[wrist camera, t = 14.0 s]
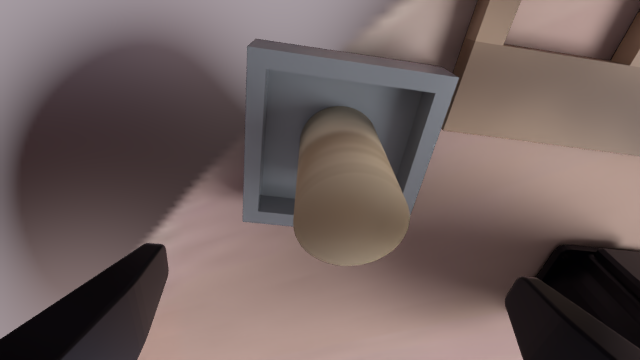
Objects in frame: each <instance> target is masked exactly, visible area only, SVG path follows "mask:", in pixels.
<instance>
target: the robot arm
mask: <svg viewBox="0 0 640 360" xmlns="http://www.w3.org/2000/svg"><path fill="white" fill-rule="evenodd" d="M167 277H168V262H167V254H166V248H165V246H164V245H162V244H154V243H146V244H143V245H142V246H140V247H139V248H137V249H136V250H134V251H133V252H131V253H130V254H128V255H127V256H125V257H124V258H122V259H121V260H119V261H118V262H116V263H115V264H113V265H112V266H110V267H109V268H107V269H106V270H104V271H103V272H101V273H100V274H98V275H97V276H95V277H93V278H92V279H91V280H89V281H88V282H86V283H84V284H83V285H81V286H80V287H78V288H77V289H75V290H74V291H72V292H71V293H69V294H68V295H66V296H65V297H63V298H62V299H60V300H59V301H57V302H56V303H54V304H53V305H51V306H50V307H48V308H47V309H45V310H44V311H42V312H41V313H39V314H38V315H36V316H35V317H33V318H32V319H30V320H29V321H27V322H26V323H24V324H22V325H21V326H19V327H18V328H16V329H15V330H13V331H12V332H10V333H9V334H7V335H6V336H4V337H3V338H1V339H0V360H137V359H138V357H139V355H140V352H141V350H142V348H143V346H144V343H145V341H146V338H147V336H148V333H149V330H150V327H151V324H152V321H153V319H154V316H155V313H156V310H157V307H158V304H159V301H160V298H161V295H162V292H163V289H164V286H165V283H166V280H167ZM505 306H506V309H507V312H508V315H509V318H510V321H511V324H512V327H513V330H514V333H515V336H516V339H517V342H518V346H519V349H520V352H521V355H522V357H523V360H640V252H635V251H625V250H615V249H606V248H594V247H584V246H575V245H562V246H559V247H558V248H556V249H555V251H554V252H553V253H552V255H551V256H550V258H549V259H548V261H547V262H546V264H545V265H544V267H543V268H542V270H541V271H540V273H539V274H538V275H537V277H536V278H534V277H524V276H522V277H519V278H518V279H517V280H516V281H515V283H514V285H513V286H512V288H511V289H510V291H509V292H508V294H507V295H506V298H505Z"/></svg>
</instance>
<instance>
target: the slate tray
mask: <svg viewBox="0 0 640 360" xmlns="http://www.w3.org/2000/svg"><path fill="white" fill-rule="evenodd" d="M458 79H459V77H457V76H456V75H454V74H453V73H451V72H449V71H448V70H446V69H444V68H443V67H441V66H434V65H427V64H421V63H414V62H407V61H401V60H394V59H387V58H381V57H374V56H367V55H361V54H354V53H347V52H341V51H334V50H327V49H320V48H314V47H307V46H301V45H294V44H287V43H281V42H274V41H267V40H261V39H255V40H254V41H253V42H252V43H250V44H249V45H248V46H247V77H246V114H245V151H244V189H243V222H252V223H262V224H272V225H282V226H292V227H293V218H294V206H295V194H296V182H297V170H298V158H299V147H300V137H301V133H302V130H303V128H304V126H305V124H306V123H307V121H308V120H309V119H310V118H311V117H312V116H313V115H315V114H316V113H318V112H319V111H321V110H323V109H326V108H329V107H334V106H345V107H350V108H353V109H356V110H358V111H360V112H361V113H363V114H364V115H365V116H366V117H368V119H369V120H370V121H371V123H372V124H373V126H374V128H375V131H376V133H377V135H378V138H379V140H380V142H381V144H382V147H383V149H384V151H385V154H386V156H387V158H388V161H389V163H390V165H391V167H392V170H393V172H394V174H395V177H396V179H397V181H398V183H399V186H400V188H401V190H402V193H403V195H404V197H405V200H406V202H407V204H408V207H409V212H410V215H411V212H412V209H413V206H414V204H415V201H416V198H417V195H418V192H419V190H420V187H421V184H422V181H423V178H424V175H425V173H426V170H427V167H428V164H429V161H430V158H431V156H432V153H433V150H434V147H435V144H436V141H437V139H438V136H439V133H440V130H441V127H442V125H443V122H444V119H445V116H446V113H447V110H448V108H449V105H450V102H451V99H452V96H453V93H454V91H455V88H456V85H457V82H458Z"/></svg>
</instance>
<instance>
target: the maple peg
mask: <svg viewBox="0 0 640 360" xmlns="http://www.w3.org/2000/svg"><path fill="white" fill-rule="evenodd" d="M409 221H410V212H409V207H408V204H407V202H406V200H405V197H404V195H403V193H402V190H401V188H400V186H399V183H398V181H397V179H396V177H395V174H394V172H393V170H392V167H391V165H390V163H389V161H388V158H387V156H386V154H385V151H384V149H383V147H382V144H381V142H380V140H379V138H378V135H377V133H376V131H375V128H374V126H373V124H372V123H371V121H370V120H369V119H368V117H366V116H365V115H364V114H363V113H361V112H360V111H358V110H356V109H353V108H350V107H345V106H334V107H329V108H326V109H323V110H321V111H319V112H318V113H316V114H315V115H313V116H312V117H311V118H310V119H309V120H308V121H307V123H306V124H305V126H304V128H303V130H302V133H301V137H300V147H299V158H298V170H297V182H296V194H295V206H294V218H293V227H294V232H295V236H296V238H297V240H298V242H299V243H300V245H301V246H302V247H303V248H304V249H305V251H307V252H308V253H309V254H310V255H312V256H313V257H315V258H316V259H319V260H321V261H323V262H326V263H329V264H333V265H339V266H357V265H363V264H367V263H370V262H373V261H376V260H378V259H380V258H382V257H384V256H386V255H387V254H389V253H390V252H391V251H393V250H394V249H395V248H396V247H397V246H398V245H399V243H400V242H401V241H402V240H403V238H404V236H405V234H406V232H407V230H408V226H409Z"/></svg>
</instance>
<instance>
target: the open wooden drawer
mask: <svg viewBox="0 0 640 360" xmlns="http://www.w3.org/2000/svg"><path fill="white" fill-rule="evenodd" d="M520 2H521V0H478V1H477V4H476V7H475V10H474V13H473V16H472V19H471V22H470V25H469V28H468V30H467V33H466V36H465V39H464V42H463V45H462V48H461V51H460V54H459V57H458V60H457V63H456V66H455V68H454V71H453V74H454V75H456V76H457V77H459V79H458V82H457V85H456V88H455V91H454V93H453V96H452V99H451V102H450V105H449V108H448V110H447V113H446V116H445V119H444V122H443V125H442V127H441V129H442V130H443V131H451V132H458V133H466V134H473V135H481V136H489V137H496V138H504V139H511V140H519V141H526V142H534V143H542V144H549V145H557V146H564V147H572V148H579V149H587V150H595V151H602V152H610V153H617V154H625V155H633V156H640V10H639V12H638V14H637V15H636V17H635V19H634V21H633V22H632V24H631V26H630V28H629V29H628V31H627V33H626V35H625V36H624V38H623V40H622V42H621V43H620V45H619V47H618V49H617V50H616V52H615V54H614V56H613V57H612V59H611V61H608V60H602V59H595V58H589V57H583V56H576V55H570V54H564V53H558V52H551V51H545V50H539V49H532V48H526V47H520V46H514V45H507V44H504V42H505V40H506V37H507V35H508V32H509V30H510V27H511V25H512V22H513V20H514V17H515V15H516V12H517V10H518V7H519V5H520Z"/></svg>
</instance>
